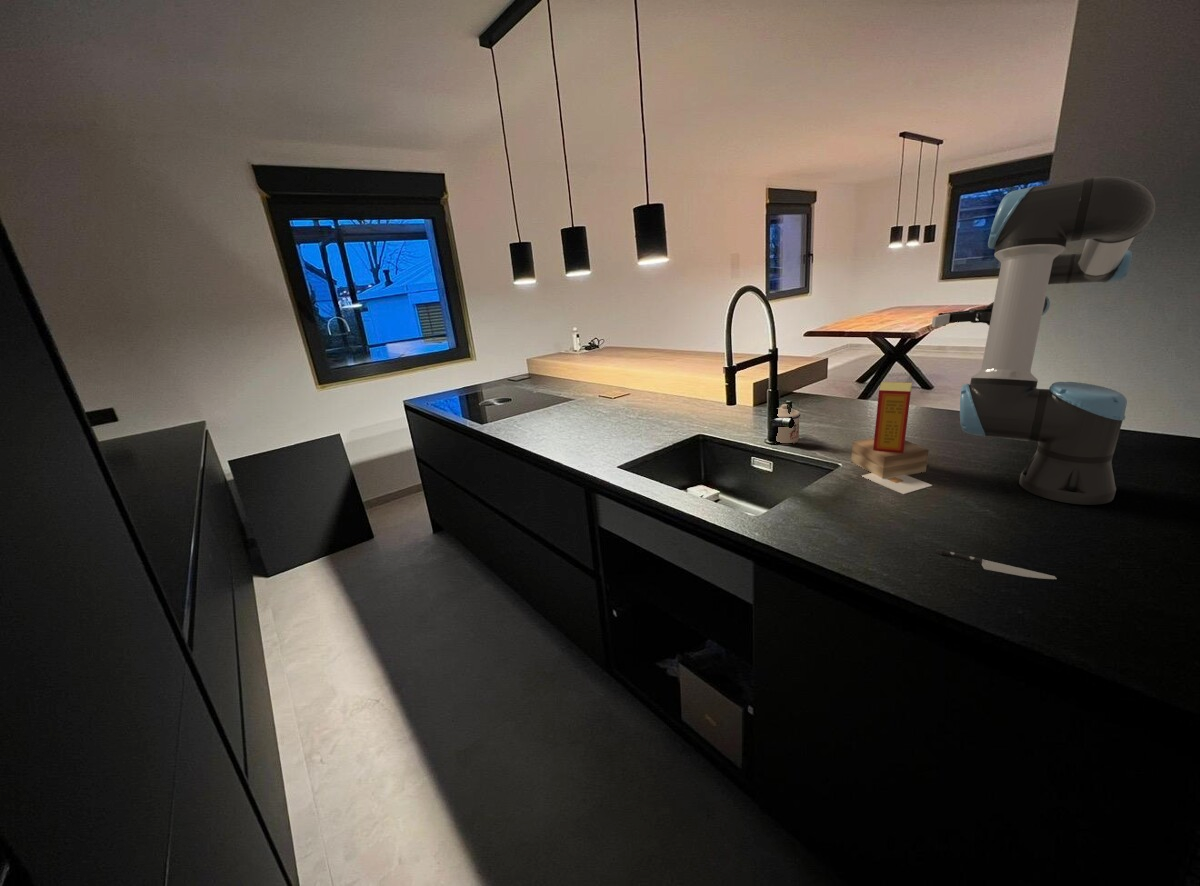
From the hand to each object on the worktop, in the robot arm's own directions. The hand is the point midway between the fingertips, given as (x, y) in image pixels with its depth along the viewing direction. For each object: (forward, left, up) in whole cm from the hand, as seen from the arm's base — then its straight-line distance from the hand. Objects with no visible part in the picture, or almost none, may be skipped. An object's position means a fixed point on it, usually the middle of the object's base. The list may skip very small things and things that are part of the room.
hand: (961, 322), depth 122 cm
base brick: (-7, +23, -34) cm, 42 cm away
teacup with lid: (+23, +35, -34) cm, 54 cm away
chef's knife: (-51, +36, -35) cm, 71 cm away
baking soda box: (-7, +23, -28) cm, 37 cm away
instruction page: (-15, +27, -34) cm, 46 cm away
